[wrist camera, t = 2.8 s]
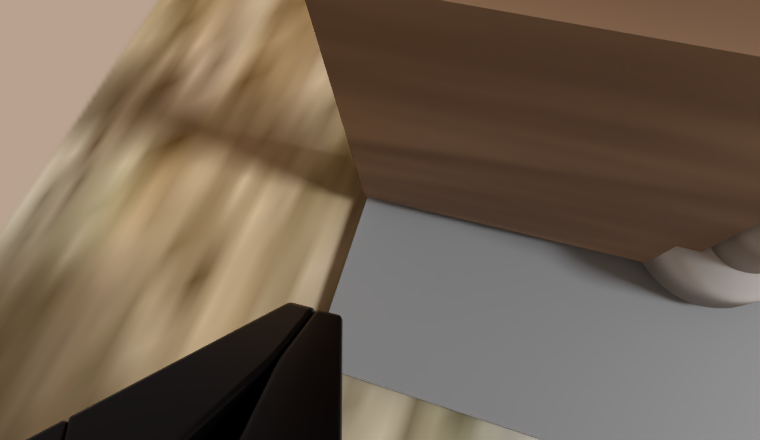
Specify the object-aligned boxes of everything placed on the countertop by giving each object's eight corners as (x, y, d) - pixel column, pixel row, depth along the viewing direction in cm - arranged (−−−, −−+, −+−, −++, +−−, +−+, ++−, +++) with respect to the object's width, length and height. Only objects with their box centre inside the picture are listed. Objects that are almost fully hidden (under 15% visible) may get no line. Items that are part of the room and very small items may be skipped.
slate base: (761, 511, 13) (776, 517, 13) (314, 364, 15) (310, 363, 15) (811, 45, 17) (824, 33, 17) (445, -27, 19) (446, -40, 18)
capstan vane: (781, 326, 14) (1356, 226, 5) (358, 221, 16) (279, 20, 7) (791, 185, 15) (1282, -85, 6) (394, 102, 17) (363, -198, 8)
